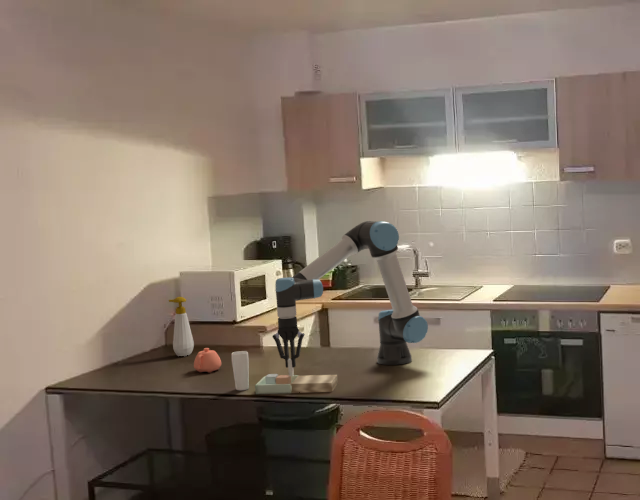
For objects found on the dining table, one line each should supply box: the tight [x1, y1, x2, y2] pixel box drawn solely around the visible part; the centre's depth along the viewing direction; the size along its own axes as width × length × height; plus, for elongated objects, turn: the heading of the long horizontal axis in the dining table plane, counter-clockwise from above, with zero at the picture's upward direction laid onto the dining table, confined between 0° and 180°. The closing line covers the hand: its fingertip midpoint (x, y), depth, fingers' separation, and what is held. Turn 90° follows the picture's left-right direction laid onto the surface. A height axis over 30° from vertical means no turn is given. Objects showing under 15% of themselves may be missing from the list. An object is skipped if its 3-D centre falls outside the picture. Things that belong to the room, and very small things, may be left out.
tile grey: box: [265, 373, 279, 384], centre depth 371 cm, size 5×5×4 cm
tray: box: [254, 374, 299, 395], centre depth 371 cm, size 14×16×4 cm
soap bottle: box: [168, 296, 195, 357], centre depth 454 cm, size 13×10×29 cm
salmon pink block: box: [276, 374, 291, 385], centre depth 371 cm, size 5×5×4 cm
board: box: [291, 374, 339, 394], centre depth 368 cm, size 16×14×4 cm
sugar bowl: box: [193, 347, 222, 374], centre depth 414 cm, size 12×14×10 cm
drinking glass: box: [231, 350, 250, 392], centre depth 374 cm, size 7×7×15 cm
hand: (291, 375), depth 370 cm, fingers closed
